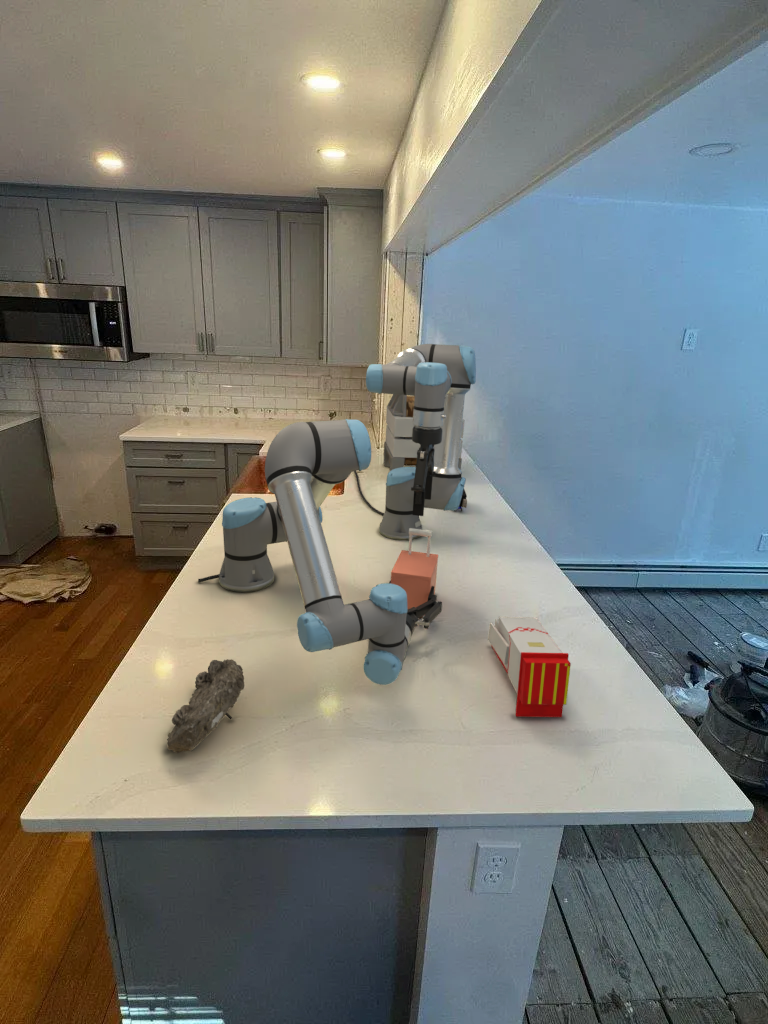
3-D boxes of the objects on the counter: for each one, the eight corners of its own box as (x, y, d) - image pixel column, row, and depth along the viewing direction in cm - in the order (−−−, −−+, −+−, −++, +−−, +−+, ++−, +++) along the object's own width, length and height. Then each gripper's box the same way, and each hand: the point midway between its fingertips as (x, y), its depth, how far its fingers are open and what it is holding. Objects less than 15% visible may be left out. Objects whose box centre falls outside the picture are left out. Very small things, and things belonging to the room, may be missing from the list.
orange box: (401, 552, 157) (403, 524, 154) (438, 557, 155) (440, 529, 152) (390, 575, 144) (392, 544, 141) (430, 580, 142) (433, 549, 139)
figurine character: (467, 516, 223) (461, 500, 237) (469, 499, 220) (463, 483, 233) (450, 516, 223) (446, 499, 236) (452, 498, 220) (447, 483, 233)
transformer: (382, 463, 289) (386, 382, 275) (445, 464, 293) (451, 384, 279) (390, 482, 257) (394, 392, 243) (460, 483, 261) (468, 394, 247)
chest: (399, 589, 160) (401, 553, 157) (434, 594, 158) (437, 558, 155) (388, 614, 147) (390, 575, 144) (427, 619, 145) (430, 580, 142)
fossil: (192, 660, 117) (244, 628, 112) (224, 691, 120) (276, 661, 115) (142, 746, 98) (202, 712, 93) (182, 779, 101) (242, 748, 96)
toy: (534, 602, 136) (579, 659, 107) (529, 653, 139) (572, 723, 110) (484, 601, 136) (516, 658, 107) (480, 652, 139) (510, 722, 109)
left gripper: (345, 639, 130) (368, 594, 151) (444, 654, 126) (454, 607, 146) (346, 610, 128) (369, 569, 148) (447, 625, 123) (456, 580, 144)
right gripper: (436, 438, 130) (429, 524, 137) (448, 419, 153) (442, 494, 160) (403, 435, 131) (399, 521, 138) (420, 417, 154) (415, 491, 161)
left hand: (411, 588), depth 147 cm, fingers closed on chest, 10 cm apart
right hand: (422, 506), depth 149 cm, fingers open, 13 cm apart
